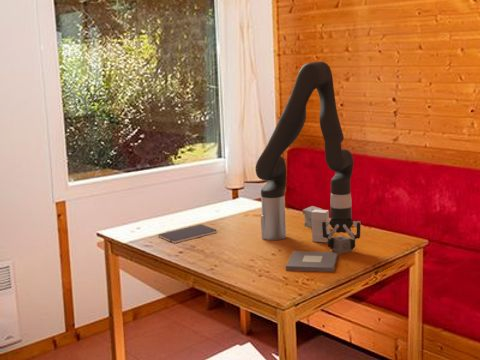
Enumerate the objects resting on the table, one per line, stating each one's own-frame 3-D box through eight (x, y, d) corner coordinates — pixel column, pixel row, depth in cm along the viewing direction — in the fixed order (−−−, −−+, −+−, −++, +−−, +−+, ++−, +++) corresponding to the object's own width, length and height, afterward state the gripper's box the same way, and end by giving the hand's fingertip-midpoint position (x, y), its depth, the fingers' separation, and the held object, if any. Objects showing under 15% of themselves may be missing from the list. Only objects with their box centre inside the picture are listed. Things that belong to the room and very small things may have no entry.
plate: (286, 270, 205) (285, 265, 204) (293, 254, 220) (293, 250, 220) (333, 272, 201) (333, 267, 201) (337, 256, 216) (337, 252, 216)
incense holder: (302, 226, 256) (301, 207, 254) (314, 223, 259) (314, 205, 258) (313, 230, 249) (313, 211, 248) (325, 227, 253) (325, 208, 251)
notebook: (201, 227, 264) (158, 238, 252) (201, 224, 264) (158, 234, 251) (217, 233, 254) (173, 244, 242) (217, 229, 253) (173, 240, 241)
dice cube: (332, 250, 223) (332, 237, 222) (343, 248, 225) (343, 235, 224) (339, 254, 218) (339, 240, 217) (351, 251, 220) (351, 238, 219)
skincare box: (330, 239, 236) (329, 210, 233) (326, 242, 232) (326, 212, 230) (315, 238, 238) (314, 209, 236) (311, 241, 234) (310, 211, 232)
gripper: (319, 207, 216) (321, 251, 219) (360, 207, 213) (361, 252, 216) (322, 202, 223) (323, 245, 227) (361, 202, 220) (362, 246, 223)
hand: (341, 248), depth 221 cm, fingers closed on dice cube, 7 cm apart
